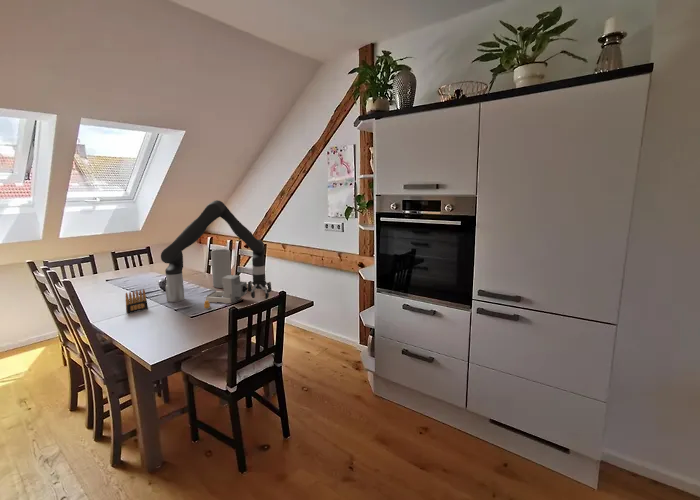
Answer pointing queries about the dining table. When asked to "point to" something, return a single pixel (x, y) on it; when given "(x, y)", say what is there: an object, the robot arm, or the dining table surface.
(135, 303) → the ammunition clip
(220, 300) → the panel slot
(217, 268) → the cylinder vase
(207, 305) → the orange wire nut
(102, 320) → the dining table surface
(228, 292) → the circuit breaker
